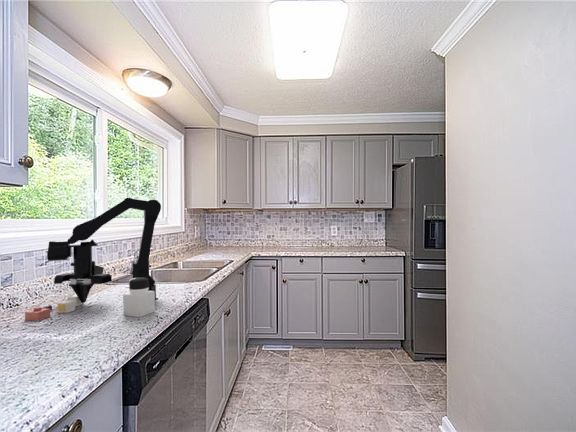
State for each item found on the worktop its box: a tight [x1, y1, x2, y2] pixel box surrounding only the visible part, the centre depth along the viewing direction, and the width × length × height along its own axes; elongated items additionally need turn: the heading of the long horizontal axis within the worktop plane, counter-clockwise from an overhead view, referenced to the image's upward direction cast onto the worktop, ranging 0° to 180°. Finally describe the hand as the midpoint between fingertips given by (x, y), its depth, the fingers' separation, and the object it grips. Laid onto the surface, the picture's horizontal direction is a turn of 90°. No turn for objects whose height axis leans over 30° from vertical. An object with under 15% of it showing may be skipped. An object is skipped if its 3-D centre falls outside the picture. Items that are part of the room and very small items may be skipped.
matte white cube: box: [56, 299, 76, 314], centre depth 115 cm, size 4×4×3 cm
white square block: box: [66, 294, 85, 307], centre depth 123 cm, size 4×4×3 cm
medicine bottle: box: [122, 277, 156, 318], centre depth 115 cm, size 7×7×12 cm
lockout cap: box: [24, 306, 51, 322], centre depth 107 cm, size 4×4×5 cm
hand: (83, 302), depth 122 cm, fingers closed
